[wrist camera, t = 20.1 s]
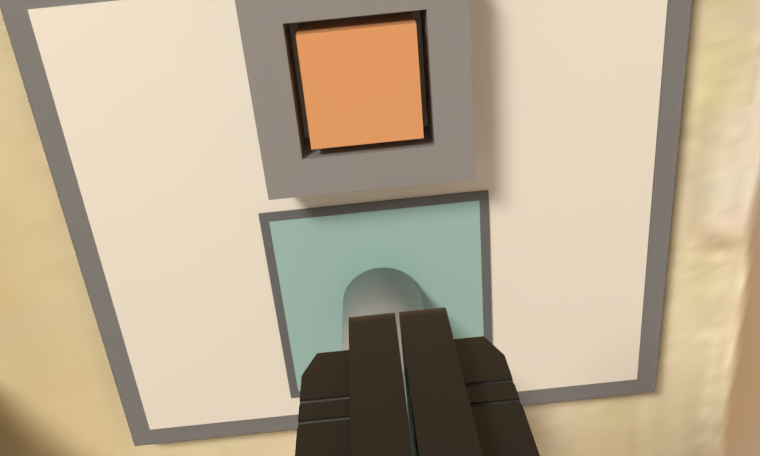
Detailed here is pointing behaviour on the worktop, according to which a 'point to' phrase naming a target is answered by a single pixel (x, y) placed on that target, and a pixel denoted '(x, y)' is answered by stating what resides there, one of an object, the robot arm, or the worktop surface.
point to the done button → (361, 79)
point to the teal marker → (380, 299)
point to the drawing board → (357, 192)
